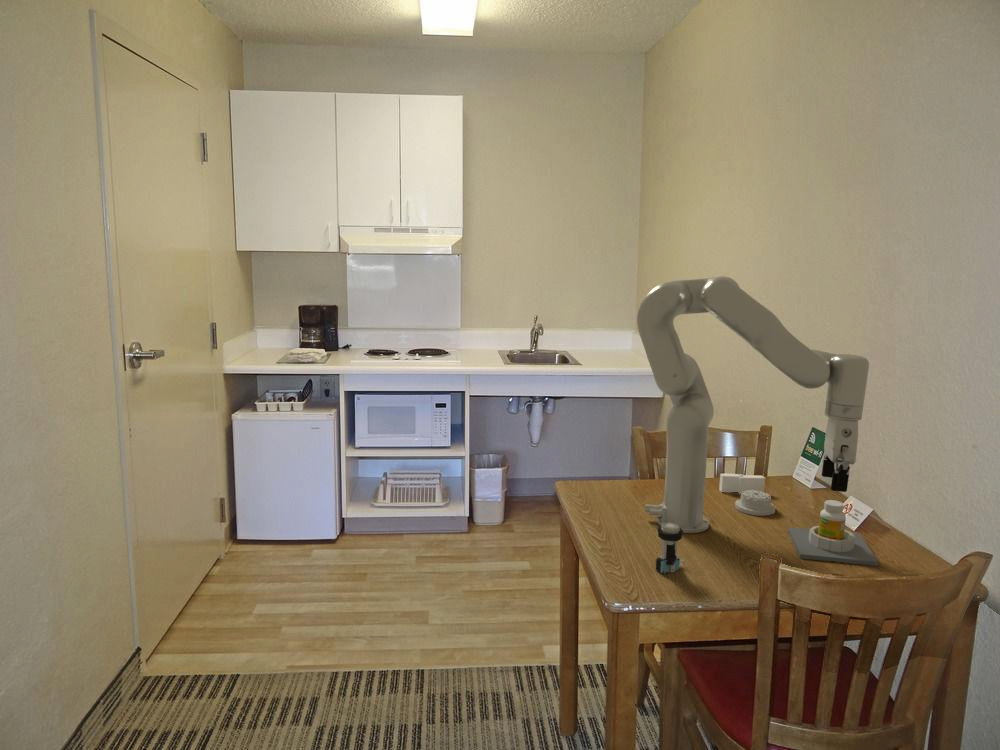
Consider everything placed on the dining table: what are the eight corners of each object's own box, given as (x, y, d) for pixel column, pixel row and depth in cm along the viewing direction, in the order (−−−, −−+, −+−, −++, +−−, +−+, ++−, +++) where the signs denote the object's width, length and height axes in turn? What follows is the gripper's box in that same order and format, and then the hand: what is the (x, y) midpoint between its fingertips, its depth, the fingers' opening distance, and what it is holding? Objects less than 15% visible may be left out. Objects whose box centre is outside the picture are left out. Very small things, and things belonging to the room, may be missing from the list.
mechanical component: (743, 517, 185) (781, 516, 186) (745, 500, 184) (783, 500, 185) (729, 503, 195) (765, 503, 196) (730, 487, 194) (766, 487, 195)
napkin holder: (773, 494, 203) (774, 474, 202) (758, 505, 195) (760, 484, 194) (721, 482, 213) (723, 463, 212) (705, 492, 204) (706, 473, 203)
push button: (674, 561, 158) (676, 518, 156) (691, 571, 153) (693, 526, 151) (650, 567, 155) (652, 523, 153) (666, 577, 150) (669, 532, 148)
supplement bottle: (813, 542, 166) (817, 502, 164) (823, 536, 170) (827, 497, 168) (837, 550, 162) (841, 509, 161) (846, 543, 166) (851, 503, 164)
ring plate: (799, 558, 160) (801, 543, 160) (788, 531, 176) (789, 517, 175) (878, 566, 157) (879, 551, 156) (859, 537, 172) (860, 523, 171)
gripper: (872, 421, 151) (861, 498, 155) (852, 403, 168) (842, 473, 171) (834, 417, 153) (823, 494, 156) (817, 400, 170) (808, 470, 173)
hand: (833, 483), depth 164 cm, fingers open, 9 cm apart
